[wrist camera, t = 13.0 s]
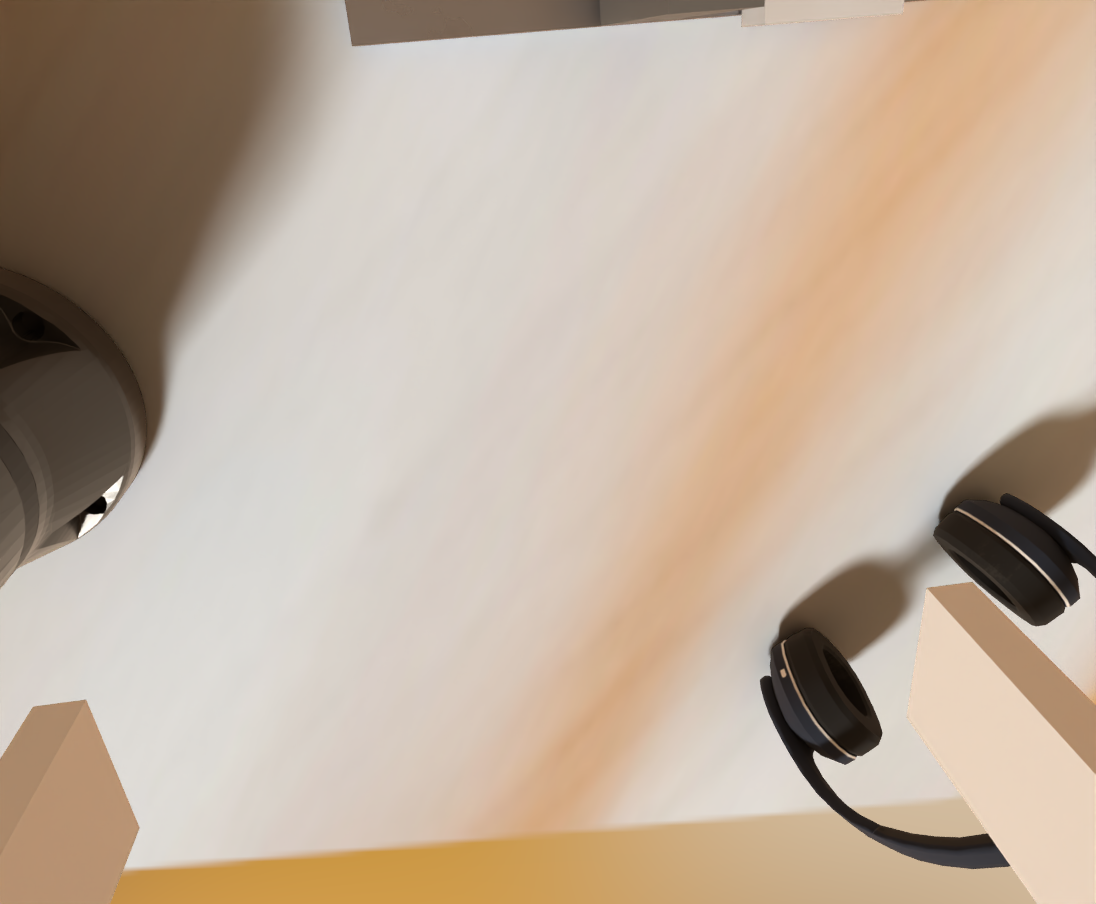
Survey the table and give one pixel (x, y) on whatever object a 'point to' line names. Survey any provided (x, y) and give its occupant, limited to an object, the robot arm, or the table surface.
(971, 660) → the robot arm
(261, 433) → the table surface
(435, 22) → the rail
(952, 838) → the headphones
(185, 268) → the table surface
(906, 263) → the table surface
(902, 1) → the striker slider
